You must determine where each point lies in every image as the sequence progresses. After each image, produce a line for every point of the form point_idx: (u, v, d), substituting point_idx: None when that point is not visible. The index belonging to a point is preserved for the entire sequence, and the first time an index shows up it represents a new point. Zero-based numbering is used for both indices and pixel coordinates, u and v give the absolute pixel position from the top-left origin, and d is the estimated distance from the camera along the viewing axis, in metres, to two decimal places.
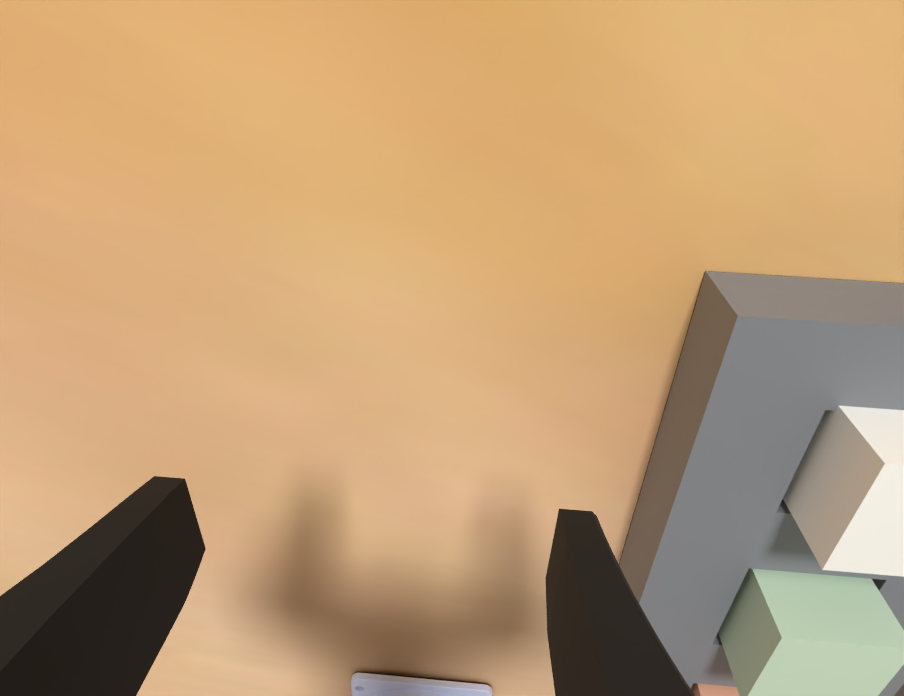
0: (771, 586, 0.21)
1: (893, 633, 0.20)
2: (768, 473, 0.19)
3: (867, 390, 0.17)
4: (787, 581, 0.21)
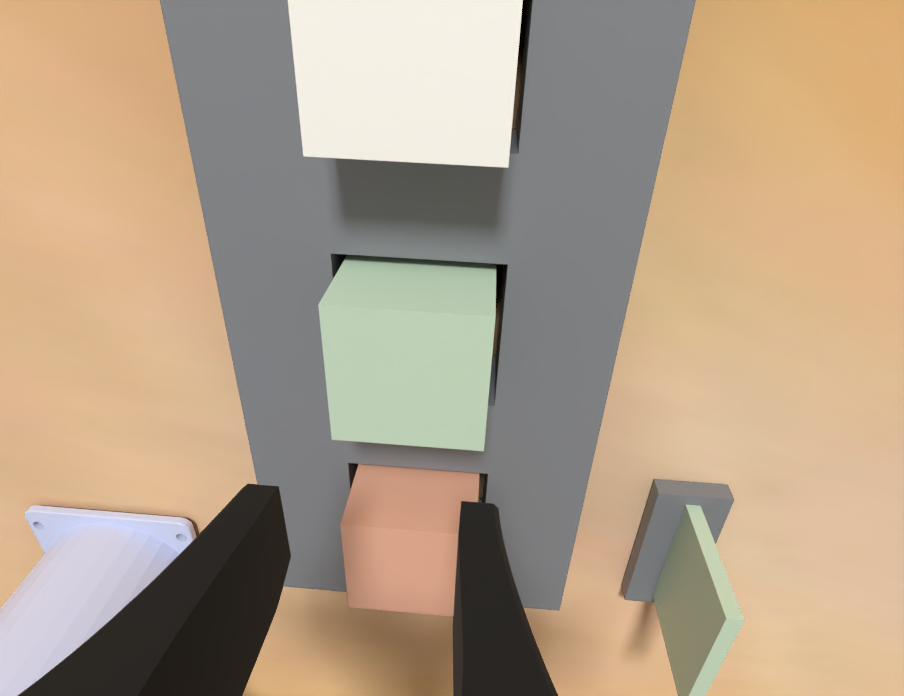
0: (352, 271, 0.16)
1: (478, 305, 0.15)
2: (281, 64, 0.14)
3: None
4: (379, 269, 0.16)
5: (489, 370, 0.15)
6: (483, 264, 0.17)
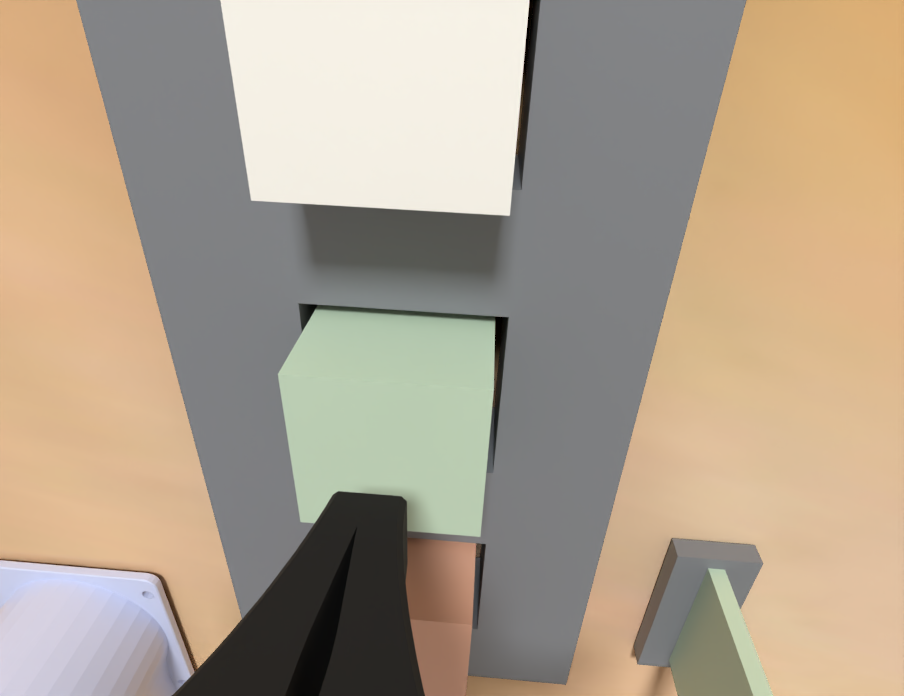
0: (323, 326, 0.13)
1: (473, 373, 0.12)
2: (230, 82, 0.11)
3: None
4: (356, 322, 0.14)
5: (486, 449, 0.12)
6: None
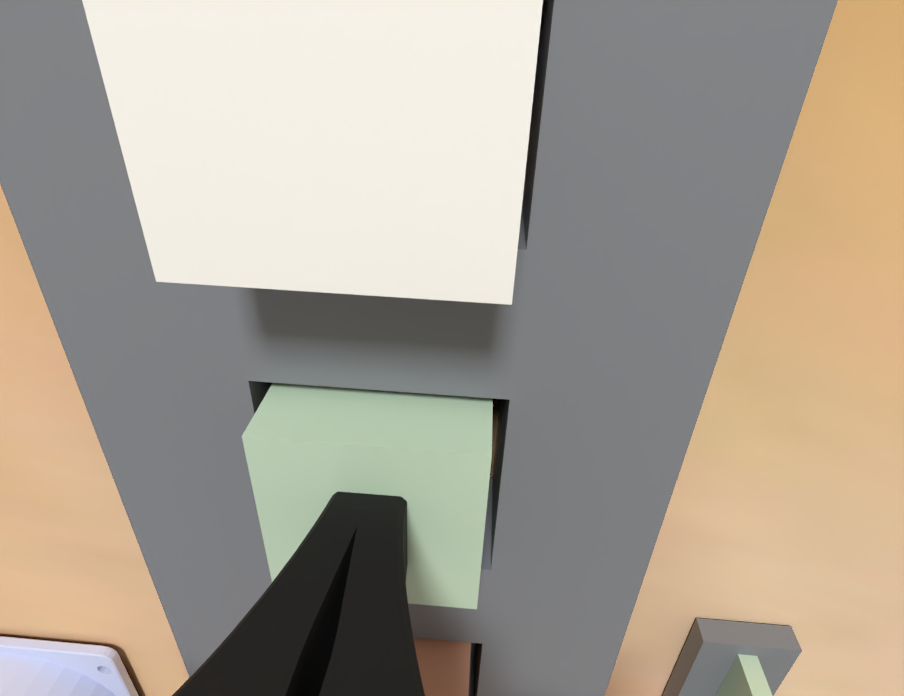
0: None
1: (468, 433, 0.10)
2: None
3: None
4: None
5: (483, 519, 0.11)
6: None
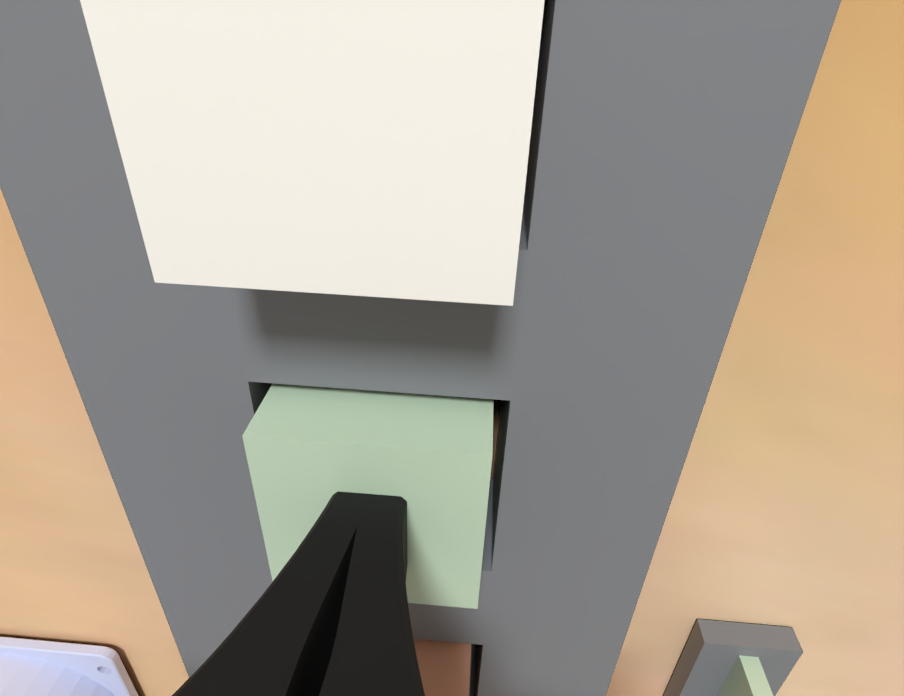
0: None
1: (469, 432, 0.10)
2: None
3: None
4: None
5: (484, 519, 0.11)
6: None
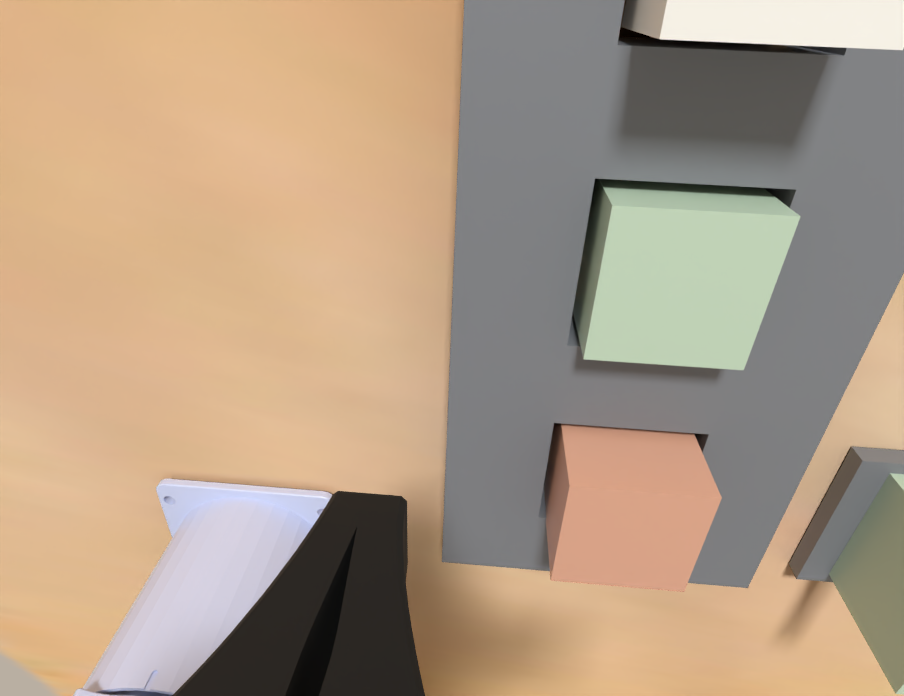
0: (616, 182, 0.15)
1: (772, 208, 0.14)
2: None
3: None
4: None
5: (776, 278, 0.14)
6: None
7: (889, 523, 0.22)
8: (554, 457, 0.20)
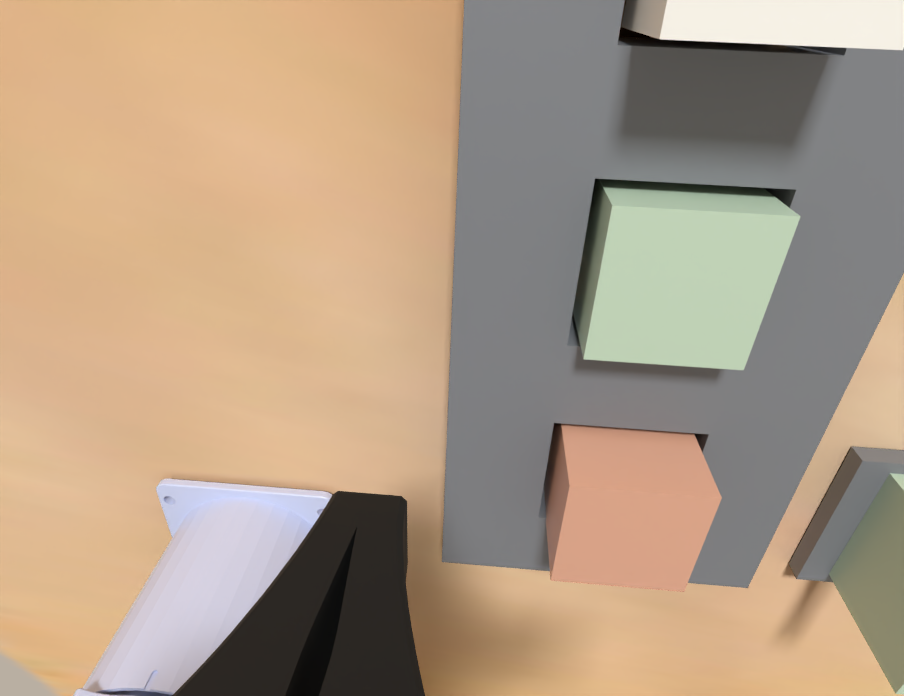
0: (616, 182, 0.15)
1: (772, 208, 0.14)
2: None
3: None
4: (639, 181, 0.16)
5: (776, 278, 0.14)
6: None
7: (889, 523, 0.22)
8: (554, 457, 0.20)
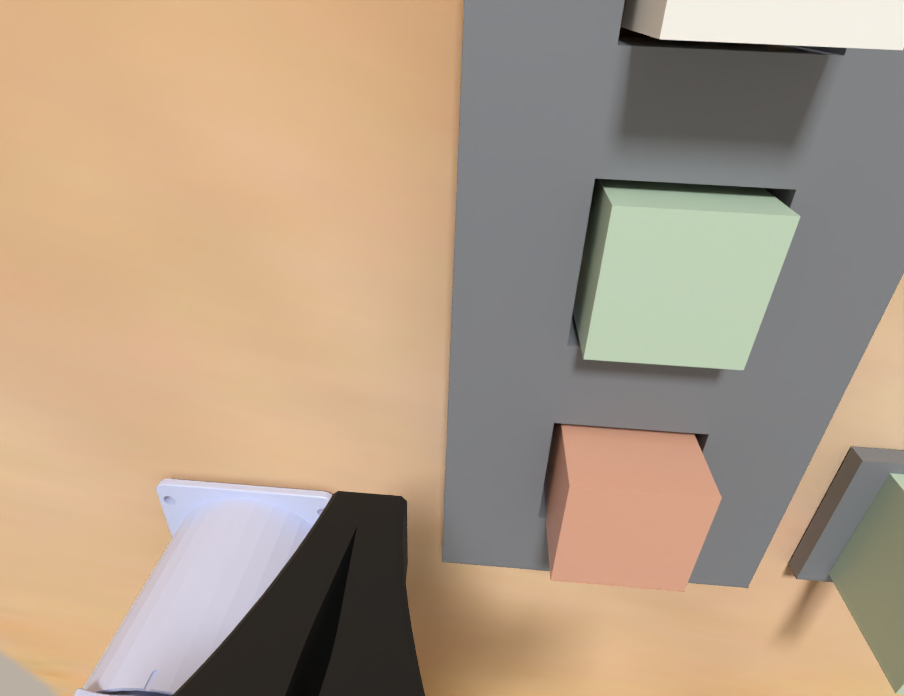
0: (616, 182, 0.15)
1: (772, 208, 0.14)
2: None
3: None
4: (639, 181, 0.16)
5: (776, 278, 0.14)
6: None
7: (889, 523, 0.22)
8: (554, 457, 0.20)
